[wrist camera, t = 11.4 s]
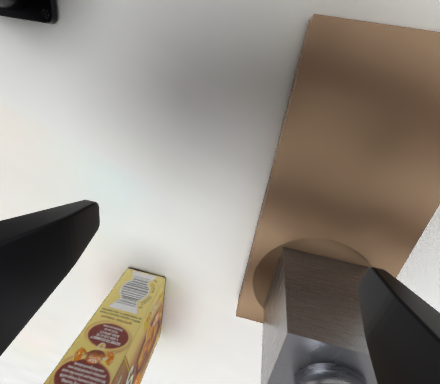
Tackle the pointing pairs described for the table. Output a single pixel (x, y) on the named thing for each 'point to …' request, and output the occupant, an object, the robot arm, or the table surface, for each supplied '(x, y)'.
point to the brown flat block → (352, 152)
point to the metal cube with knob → (314, 323)
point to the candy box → (117, 335)
